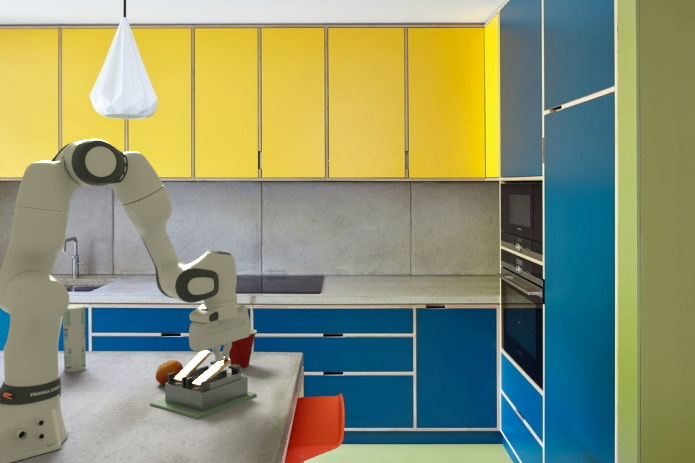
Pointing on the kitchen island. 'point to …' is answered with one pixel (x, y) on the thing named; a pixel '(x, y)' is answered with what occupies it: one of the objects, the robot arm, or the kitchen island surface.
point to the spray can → (74, 338)
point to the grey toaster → (206, 389)
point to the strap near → (211, 372)
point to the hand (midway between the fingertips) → (222, 360)
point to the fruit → (168, 370)
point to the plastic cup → (242, 350)
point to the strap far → (192, 365)
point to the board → (195, 413)
